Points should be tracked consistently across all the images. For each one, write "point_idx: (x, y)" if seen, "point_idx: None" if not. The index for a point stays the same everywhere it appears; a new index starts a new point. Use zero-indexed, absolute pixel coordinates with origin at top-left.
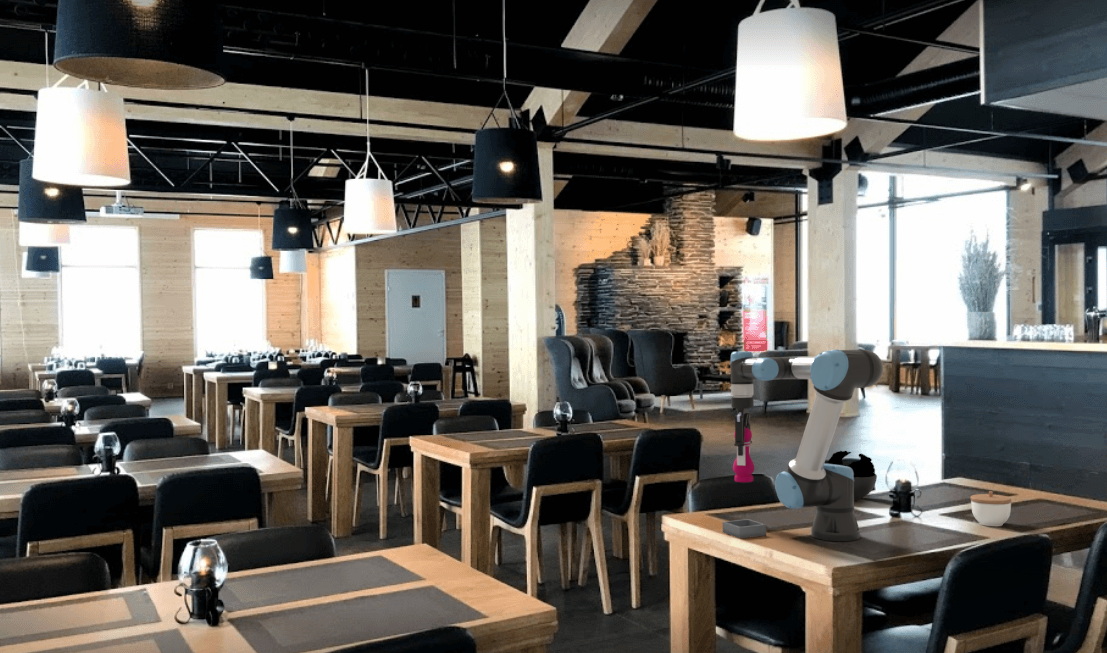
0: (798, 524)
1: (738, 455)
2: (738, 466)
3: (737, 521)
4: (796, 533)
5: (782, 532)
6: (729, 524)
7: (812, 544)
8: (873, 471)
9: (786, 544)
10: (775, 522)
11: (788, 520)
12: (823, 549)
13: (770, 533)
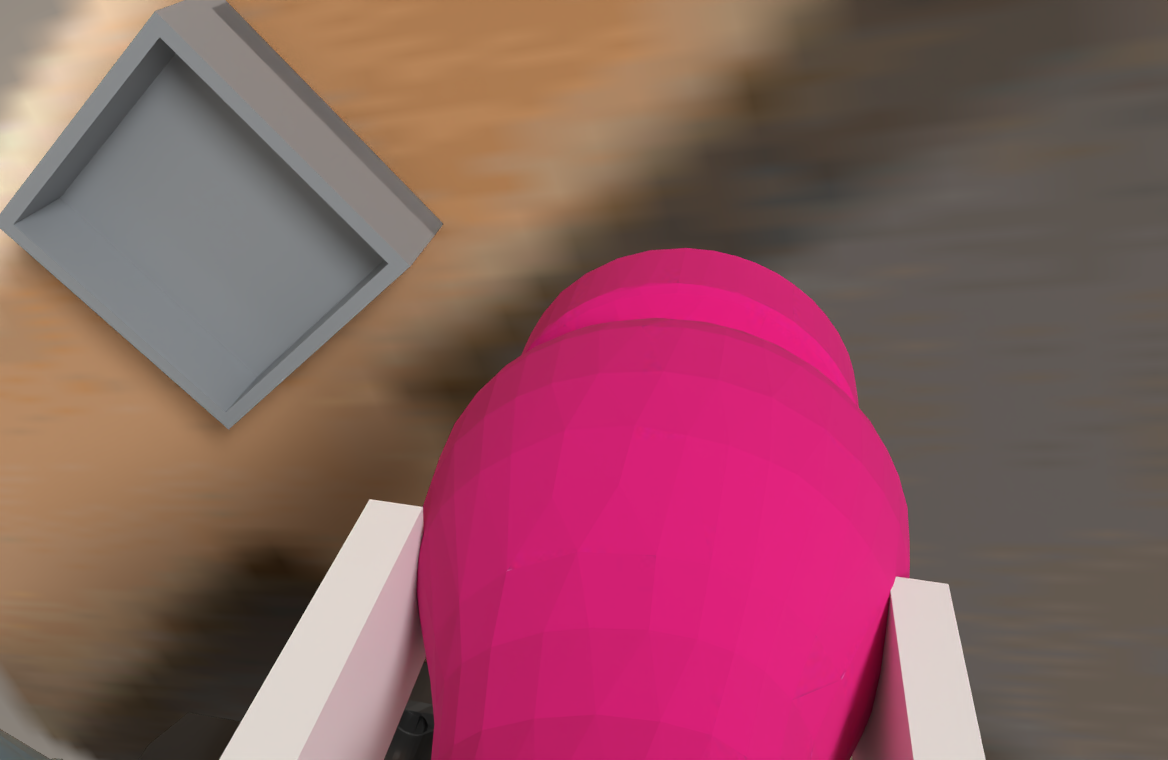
0: None
1: (185, 721)
2: (424, 502)
3: (295, 163)
4: None
5: None
6: (85, 105)
7: (152, 648)
8: None
9: (64, 514)
10: None
11: (984, 534)
12: (59, 689)
13: (366, 409)
